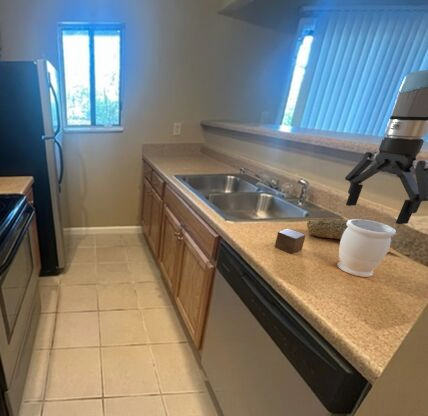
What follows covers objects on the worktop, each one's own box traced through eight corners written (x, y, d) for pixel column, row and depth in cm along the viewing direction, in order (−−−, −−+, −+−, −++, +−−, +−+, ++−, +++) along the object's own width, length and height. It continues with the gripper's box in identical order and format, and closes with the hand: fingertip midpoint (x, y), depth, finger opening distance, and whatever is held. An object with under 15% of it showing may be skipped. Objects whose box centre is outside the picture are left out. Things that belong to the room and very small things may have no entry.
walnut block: (301, 250, 96) (306, 234, 94) (291, 254, 93) (295, 238, 91) (284, 242, 101) (288, 228, 99) (274, 246, 98) (277, 231, 96)
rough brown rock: (309, 241, 104) (382, 244, 93) (308, 221, 103) (382, 221, 92) (305, 234, 115) (370, 235, 104) (305, 216, 114) (370, 215, 103)
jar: (350, 258, 90) (365, 217, 85) (387, 276, 81) (406, 231, 75) (324, 263, 88) (337, 220, 83) (358, 282, 79) (376, 235, 73)
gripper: (344, 132, 81) (323, 199, 89) (455, 144, 58) (415, 233, 66) (366, 131, 82) (344, 198, 90) (484, 143, 59) (441, 231, 67)
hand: (374, 213), depth 78 cm, fingers open, 13 cm apart
